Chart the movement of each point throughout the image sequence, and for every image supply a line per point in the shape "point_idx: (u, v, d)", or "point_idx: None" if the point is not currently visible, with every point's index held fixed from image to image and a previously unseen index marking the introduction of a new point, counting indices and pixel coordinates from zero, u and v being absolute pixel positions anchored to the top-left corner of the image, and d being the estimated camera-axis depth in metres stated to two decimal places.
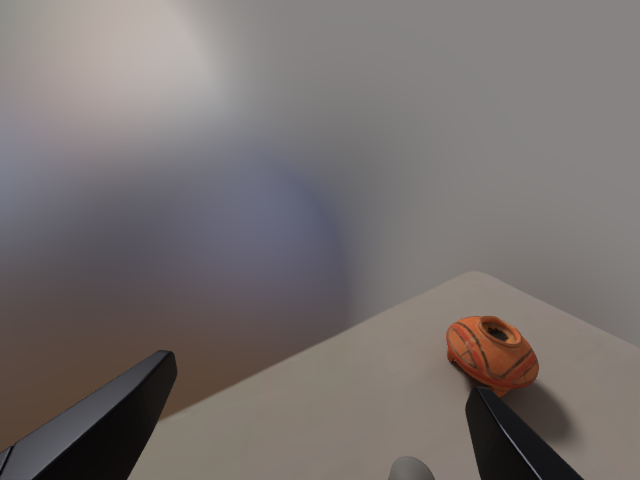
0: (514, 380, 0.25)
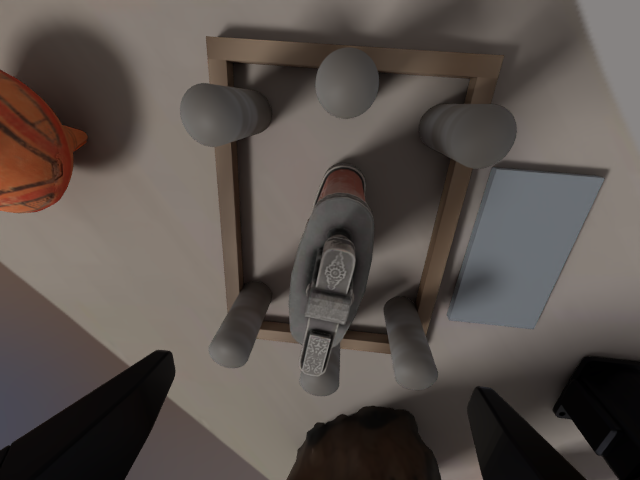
0: (51, 142, 0.16)
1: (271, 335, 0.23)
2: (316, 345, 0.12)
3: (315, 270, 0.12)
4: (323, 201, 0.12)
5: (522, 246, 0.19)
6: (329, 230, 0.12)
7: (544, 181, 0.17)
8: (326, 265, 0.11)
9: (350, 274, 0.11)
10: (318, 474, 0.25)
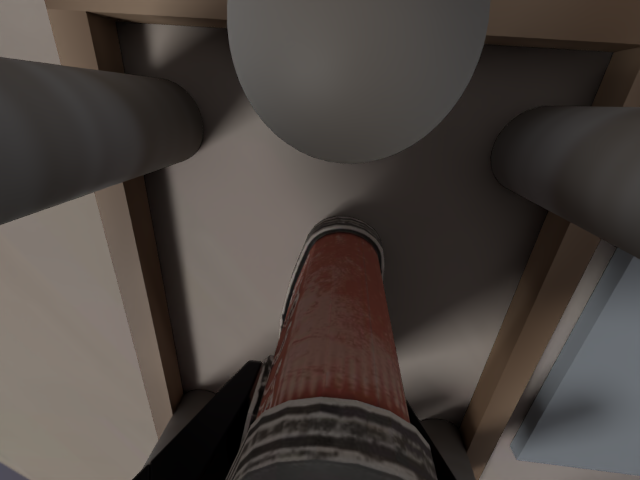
0: None
1: None
2: None
3: None
4: (269, 458, 0.03)
5: None
6: None
7: None
8: None
9: None
10: None
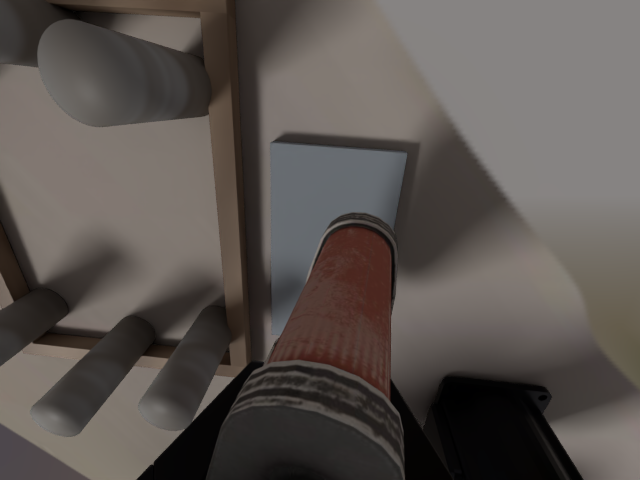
0: None
1: (71, 353, 0.19)
2: None
3: None
4: (247, 403, 0.04)
5: None
6: (275, 468, 0.04)
7: (334, 158, 0.13)
8: None
9: None
10: None
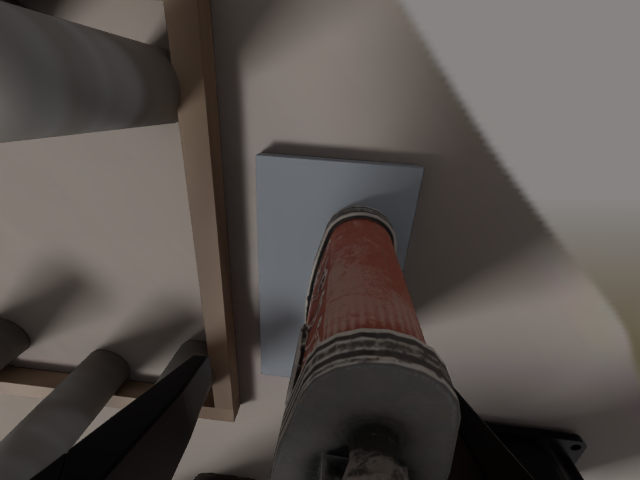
0: None
1: (33, 391, 0.17)
2: None
3: None
4: (329, 367, 0.05)
5: None
6: (349, 423, 0.05)
7: (333, 174, 0.11)
8: None
9: None
10: None
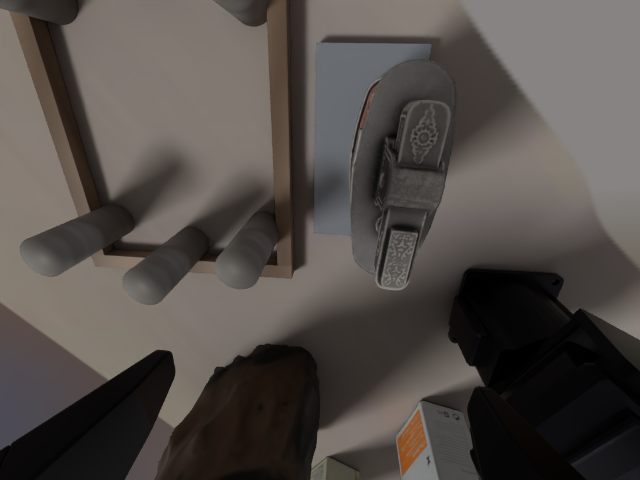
0: None
1: (137, 262, 0.22)
2: (399, 245, 0.10)
3: (391, 151, 0.09)
4: (391, 68, 0.10)
5: None
6: (400, 108, 0.10)
7: (369, 53, 0.16)
8: (412, 127, 0.08)
9: (443, 136, 0.08)
10: (202, 412, 0.24)
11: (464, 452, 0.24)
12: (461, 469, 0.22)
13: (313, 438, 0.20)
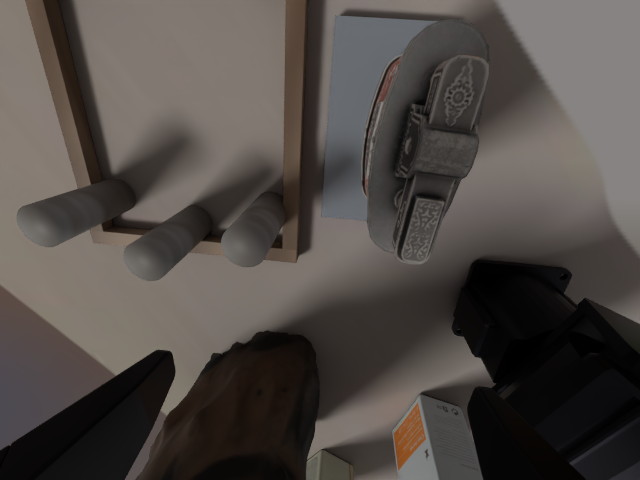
0: None
1: None
2: (424, 214, 0.09)
3: (420, 114, 0.09)
4: (423, 29, 0.09)
5: None
6: (429, 72, 0.10)
7: (389, 29, 0.15)
8: (447, 84, 0.08)
9: (479, 96, 0.08)
10: (197, 398, 0.23)
11: (463, 447, 0.23)
12: (460, 463, 0.22)
13: (312, 426, 0.19)
